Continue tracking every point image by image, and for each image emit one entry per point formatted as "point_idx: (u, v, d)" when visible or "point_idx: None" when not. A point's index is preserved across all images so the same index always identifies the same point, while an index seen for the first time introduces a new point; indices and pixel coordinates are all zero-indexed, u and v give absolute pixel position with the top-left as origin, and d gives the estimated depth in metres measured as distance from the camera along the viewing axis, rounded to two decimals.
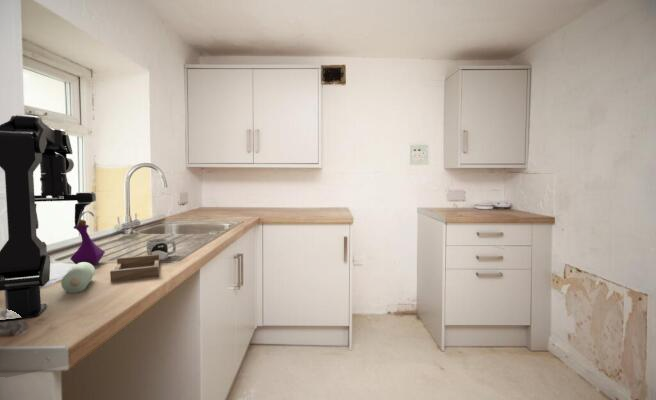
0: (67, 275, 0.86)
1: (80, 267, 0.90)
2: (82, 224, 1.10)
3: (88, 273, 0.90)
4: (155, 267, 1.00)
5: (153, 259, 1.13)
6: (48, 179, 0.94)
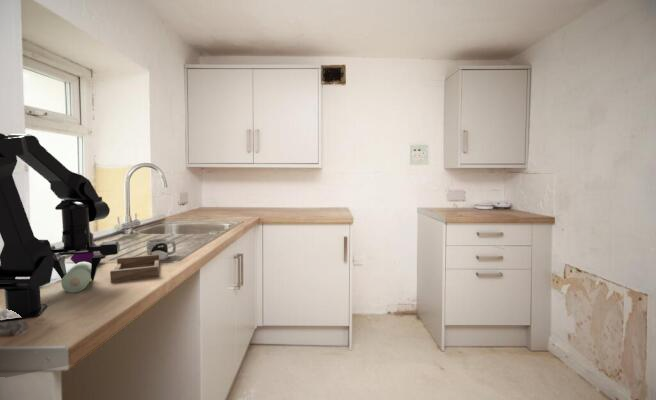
0: (67, 275, 0.86)
1: (80, 267, 0.90)
2: None
3: (88, 272, 0.90)
4: (155, 267, 1.00)
5: (153, 259, 1.13)
6: (71, 232, 0.87)
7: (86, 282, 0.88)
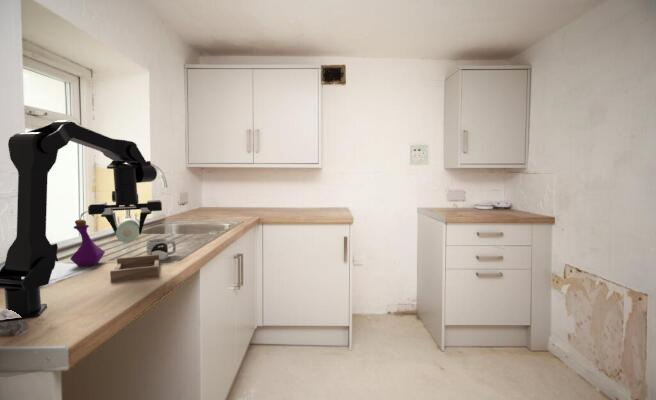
0: (120, 226, 0.97)
1: (129, 221, 1.02)
2: (82, 224, 1.10)
3: (137, 226, 1.01)
4: (155, 267, 1.00)
5: (153, 259, 1.13)
6: (123, 189, 0.98)
7: (136, 233, 0.99)
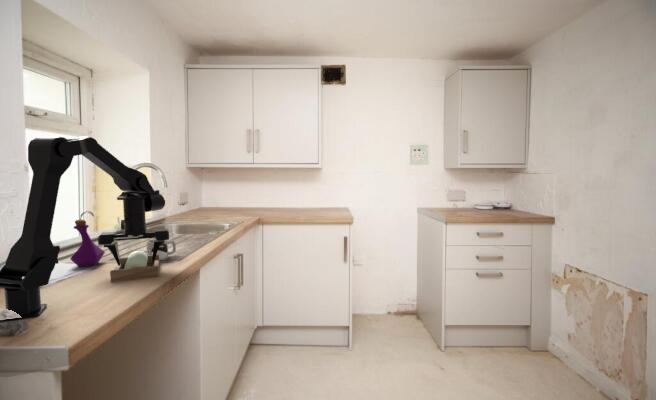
0: (129, 261, 1.00)
1: (138, 254, 1.04)
2: (82, 224, 1.10)
3: (145, 260, 1.04)
4: (155, 267, 1.00)
5: None
6: (132, 220, 1.01)
7: None
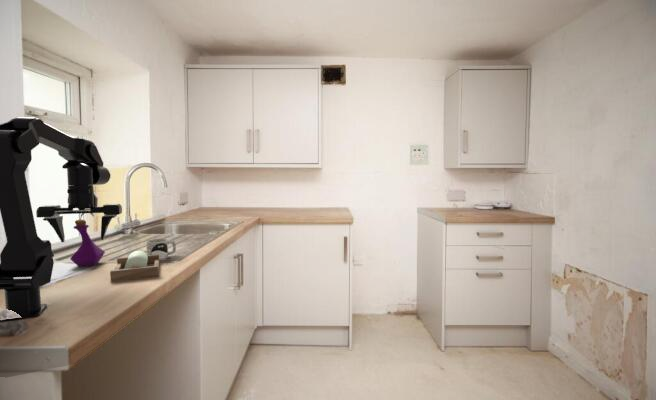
0: (129, 261, 1.00)
1: (138, 254, 1.04)
2: (82, 224, 1.10)
3: (145, 260, 1.04)
4: (155, 267, 1.00)
5: (153, 259, 1.13)
6: (76, 191, 0.91)
7: None
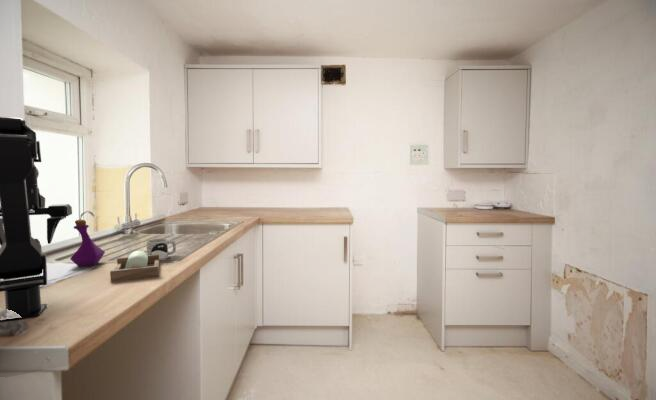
0: (130, 260, 1.00)
1: (139, 254, 1.04)
2: (82, 224, 1.10)
3: (145, 260, 1.04)
4: (155, 267, 1.00)
5: (153, 259, 1.13)
6: None
7: None
